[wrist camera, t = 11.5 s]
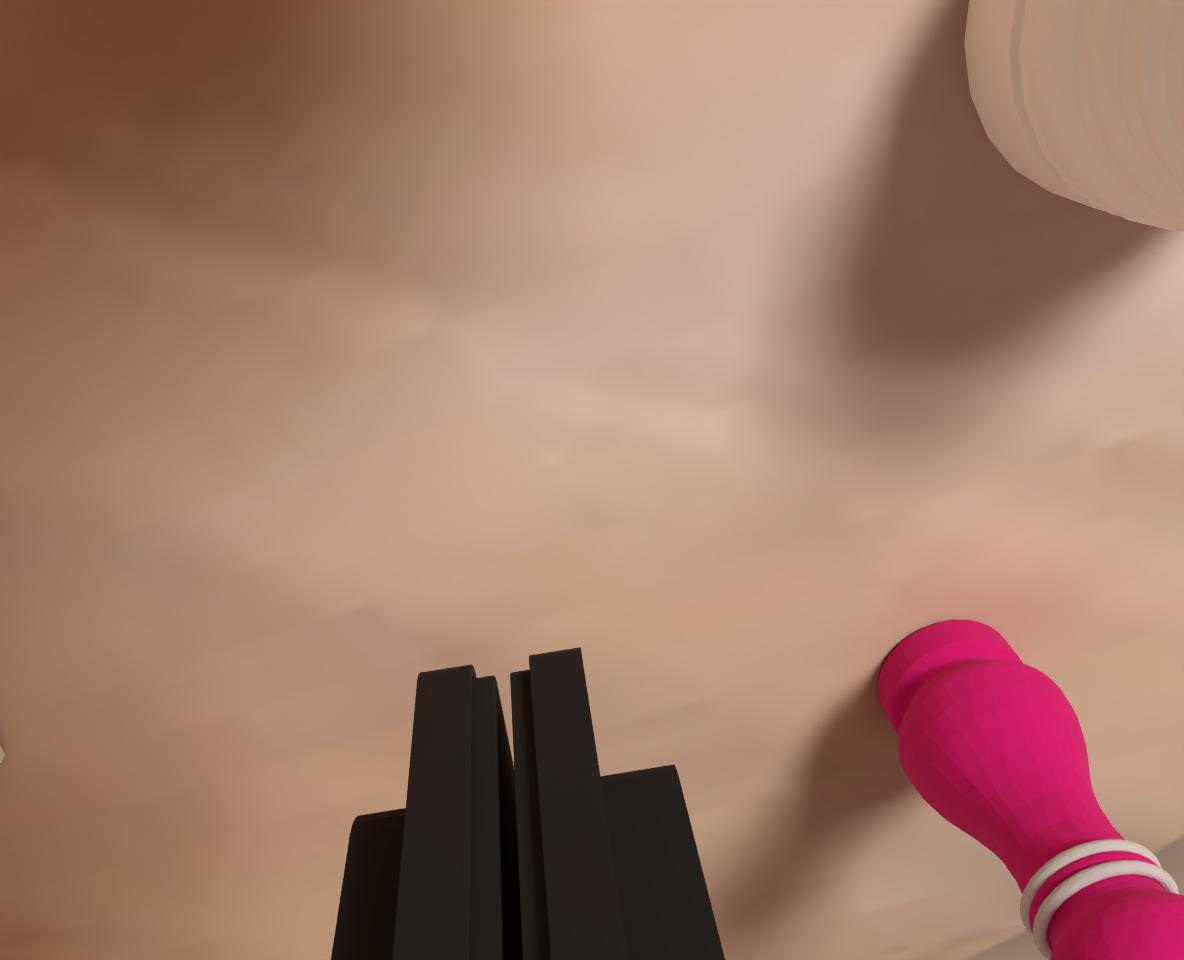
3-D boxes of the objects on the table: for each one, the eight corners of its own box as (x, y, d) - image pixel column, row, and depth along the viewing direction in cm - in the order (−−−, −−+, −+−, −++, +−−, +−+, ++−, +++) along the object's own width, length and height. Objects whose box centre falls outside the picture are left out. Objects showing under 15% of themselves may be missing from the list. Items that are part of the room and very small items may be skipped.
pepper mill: (1038, 695, 47) (1382, 1133, 29) (895, 759, 48) (1144, 1222, 30) (995, 582, 44) (1352, 995, 26) (843, 652, 45) (1087, 1098, 27)
